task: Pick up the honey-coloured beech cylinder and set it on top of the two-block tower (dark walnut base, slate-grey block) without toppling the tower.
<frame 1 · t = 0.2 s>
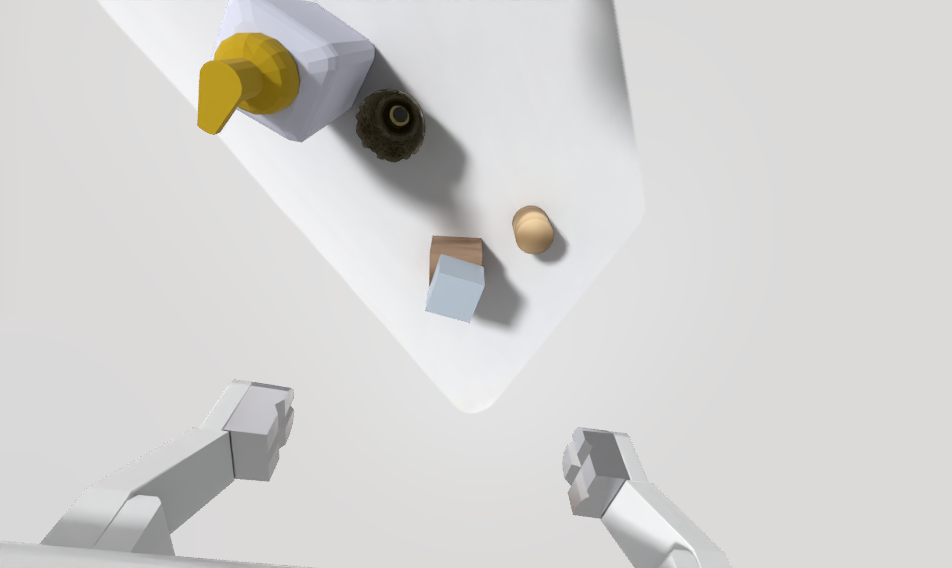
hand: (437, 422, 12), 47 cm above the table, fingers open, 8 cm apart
soap bottle: (328, 59, 49), on the table
tower base: (455, 258, 63), on the table, touching tower top block
cup: (400, 114, 52), on the table
beech cylinder: (529, 222, 60), on the table
tower top block: (455, 278, 58), point 6 cm above the table, touching tower base
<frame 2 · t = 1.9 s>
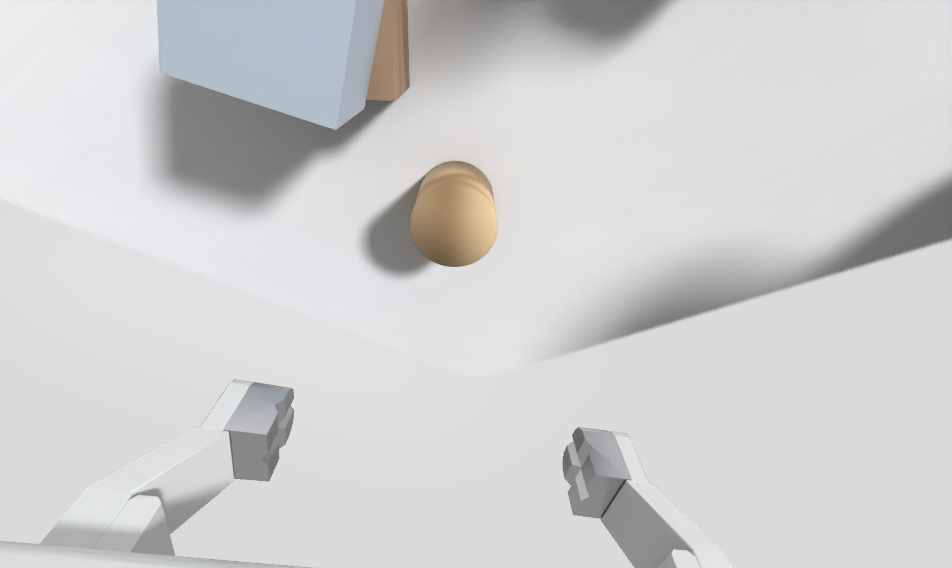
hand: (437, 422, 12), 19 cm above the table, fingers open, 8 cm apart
tower base: (343, 12, 23), on the table
beech cylinder: (455, 198, 28), on the table
tower top block: (307, 12, 18), point 6 cm above the table
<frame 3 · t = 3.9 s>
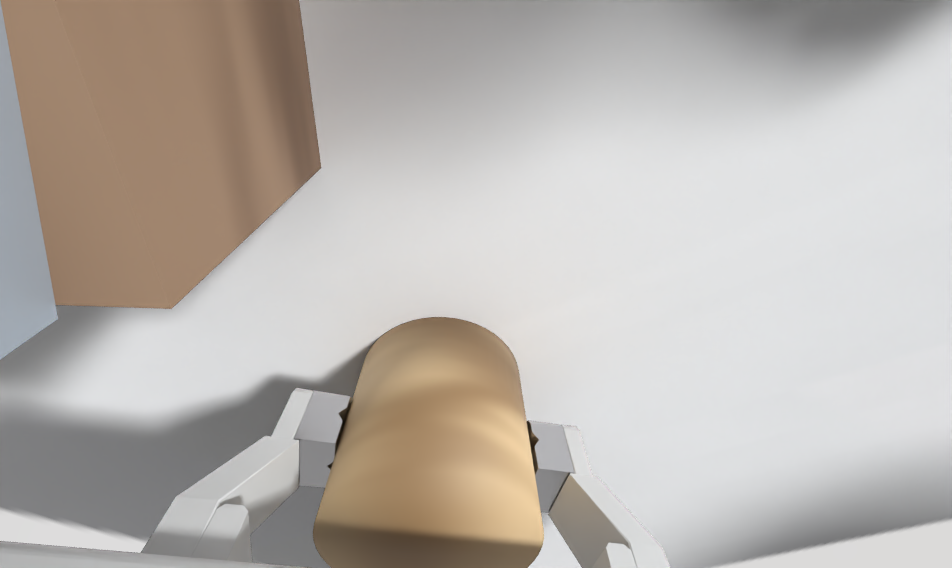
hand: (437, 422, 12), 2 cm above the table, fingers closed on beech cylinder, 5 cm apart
beech cylinder: (441, 380, 14), on the table, touching gripper
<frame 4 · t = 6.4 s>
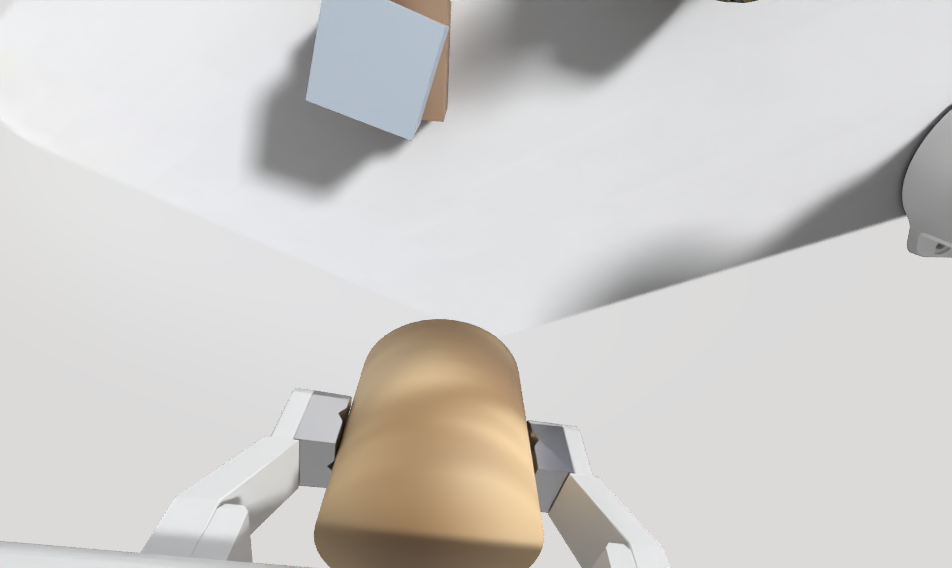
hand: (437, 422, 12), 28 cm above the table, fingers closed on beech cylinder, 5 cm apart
tower base: (402, 54, 32), on the table, touching tower top block
beech cylinder: (441, 382, 14), point 26 cm above the table, touching gripper
tower top block: (388, 59, 26), point 6 cm above the table, touching tower base
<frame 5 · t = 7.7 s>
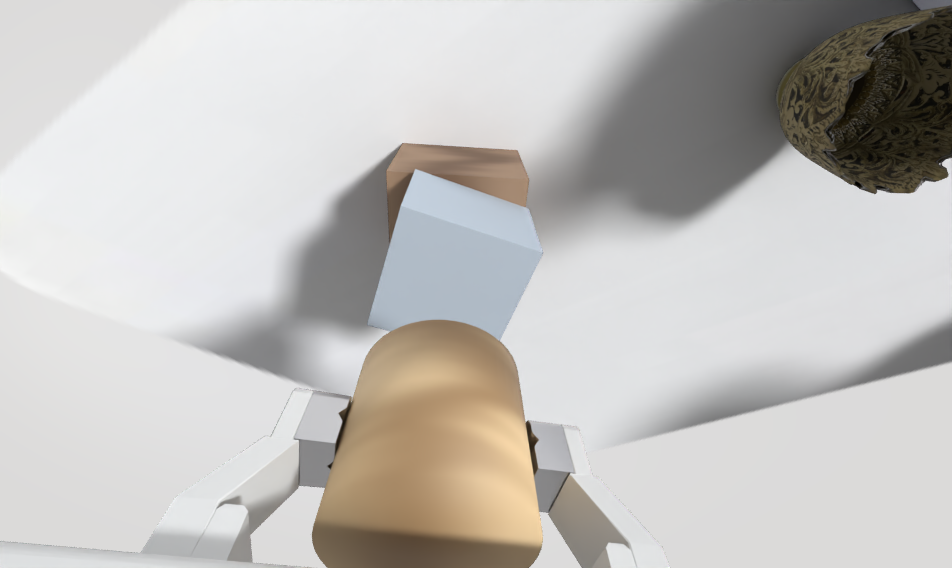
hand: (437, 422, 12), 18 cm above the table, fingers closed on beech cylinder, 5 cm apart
tower base: (458, 201, 28), on the table, touching tower top block
cup: (800, 86, 24), on the table
beech cylinder: (440, 383, 14), point 16 cm above the table, touching gripper
tower top block: (454, 240, 22), point 6 cm above the table, touching tower base
when the fingers open (14 cm above the table, at t = 8.9 s): beech cylinder drops 1 cm, resting on tower top block.
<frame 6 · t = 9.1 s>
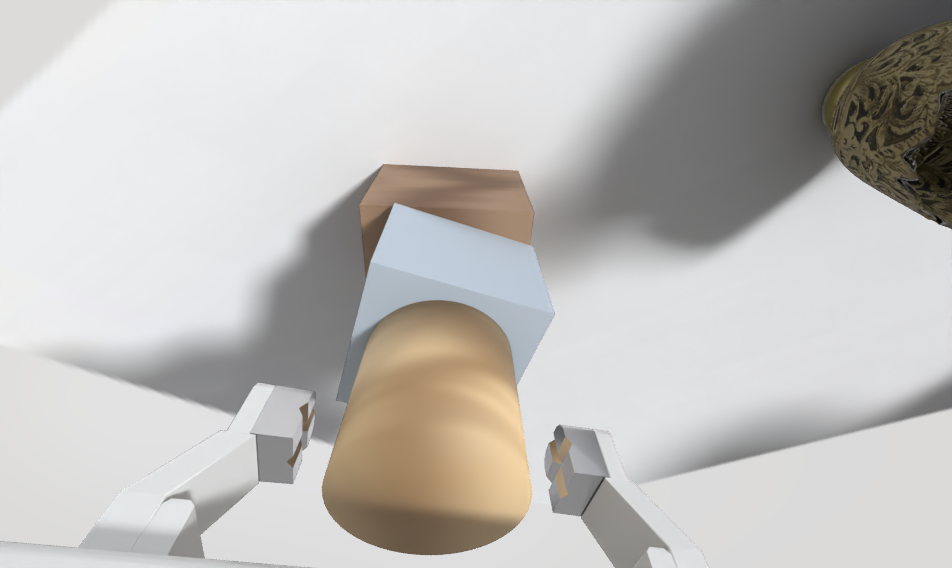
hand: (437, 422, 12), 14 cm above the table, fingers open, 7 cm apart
tower base: (449, 228, 24), on the table, touching tower top block
cup: (850, 96, 21), on the table
beech cylinder: (439, 361, 14), point 11 cm above the table, touching tower top block
tower top block: (444, 284, 19), point 6 cm above the table, touching beech cylinder, tower base
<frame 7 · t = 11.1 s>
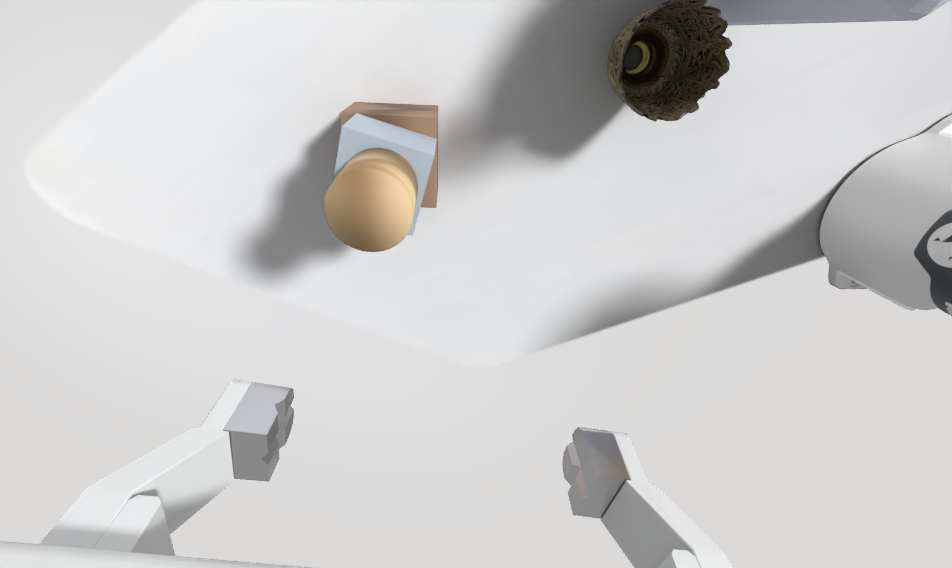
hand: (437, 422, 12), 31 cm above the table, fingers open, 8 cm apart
tower base: (398, 145, 38), on the table, touching tower top block
cup: (631, 57, 35), on the table
beech cylinder: (380, 185, 28), point 11 cm above the table, touching tower top block
tower top block: (388, 165, 33), point 6 cm above the table, touching beech cylinder, tower base
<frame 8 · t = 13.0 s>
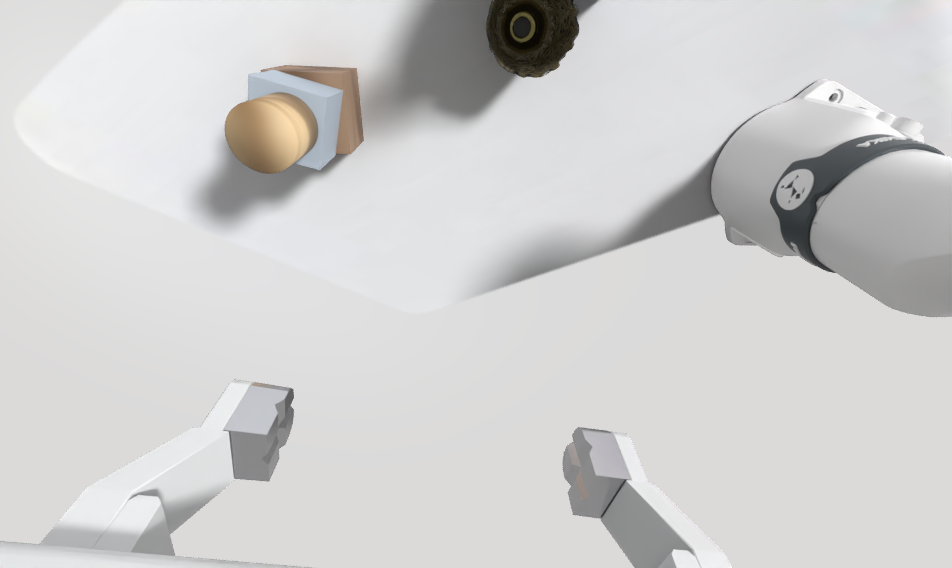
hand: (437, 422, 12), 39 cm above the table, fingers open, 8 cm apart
tower base: (326, 104, 44), on the table, touching tower top block
cup: (521, 27, 41), on the table
beech cylinder: (287, 125, 35), point 11 cm above the table, touching tower top block
tower top block: (306, 114, 39), point 6 cm above the table, touching beech cylinder, tower base
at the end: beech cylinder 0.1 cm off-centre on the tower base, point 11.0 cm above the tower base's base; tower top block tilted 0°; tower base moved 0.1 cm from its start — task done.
